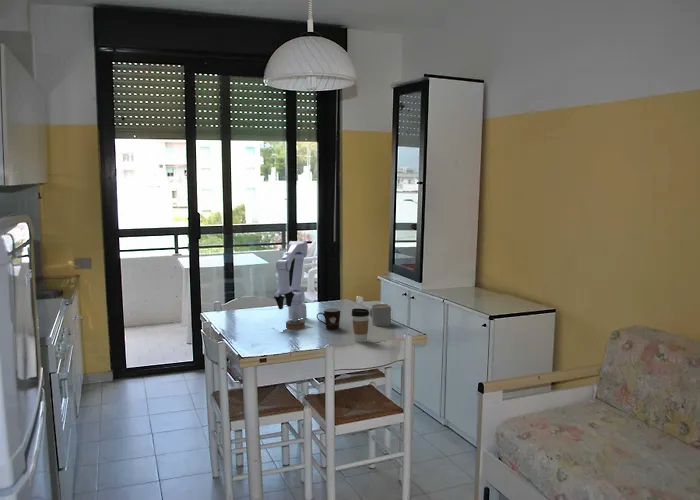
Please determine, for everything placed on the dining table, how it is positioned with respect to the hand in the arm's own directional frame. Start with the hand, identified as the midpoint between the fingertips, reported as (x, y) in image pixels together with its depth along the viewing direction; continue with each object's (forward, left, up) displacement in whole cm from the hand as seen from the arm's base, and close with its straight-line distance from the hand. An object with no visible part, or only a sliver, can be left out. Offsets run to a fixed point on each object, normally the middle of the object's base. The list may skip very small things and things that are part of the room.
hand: (284, 307), depth 304 cm
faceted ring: (-2, +7, -10) cm, 12 cm away
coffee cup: (-14, +49, -10) cm, 52 cm away
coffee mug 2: (-42, +27, -10) cm, 51 cm away
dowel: (-2, +7, -10) cm, 12 cm away
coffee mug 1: (-15, +20, -10) cm, 27 cm away
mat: (0, +4, -10) cm, 11 cm away
